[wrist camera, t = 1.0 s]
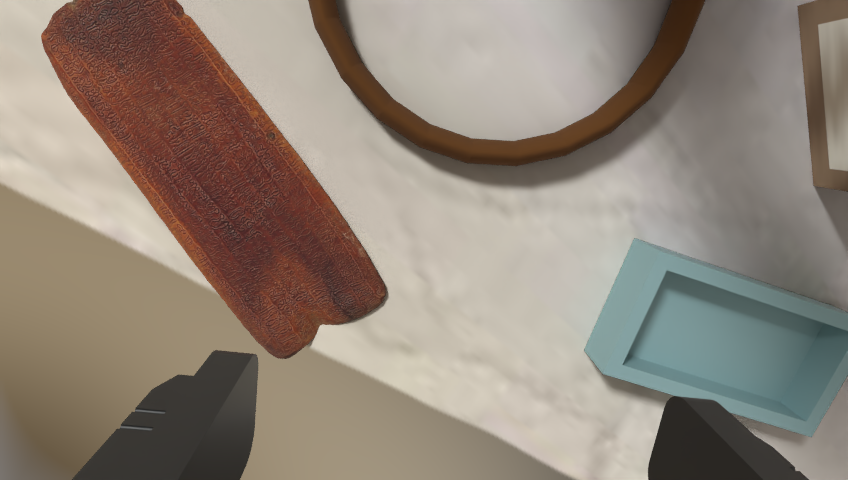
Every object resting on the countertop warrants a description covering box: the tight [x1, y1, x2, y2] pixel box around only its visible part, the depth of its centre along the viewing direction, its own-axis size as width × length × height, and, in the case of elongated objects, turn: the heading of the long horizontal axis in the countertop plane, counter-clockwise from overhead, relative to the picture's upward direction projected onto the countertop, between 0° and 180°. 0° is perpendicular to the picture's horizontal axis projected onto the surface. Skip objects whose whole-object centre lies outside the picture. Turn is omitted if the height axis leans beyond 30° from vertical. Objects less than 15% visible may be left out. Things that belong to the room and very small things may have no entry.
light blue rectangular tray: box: [584, 238, 848, 437], centre depth 35 cm, size 16×9×4 cm, turn 71°
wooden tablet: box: [41, 0, 386, 359], centre depth 33 cm, size 27×10×2 cm, turn 32°
